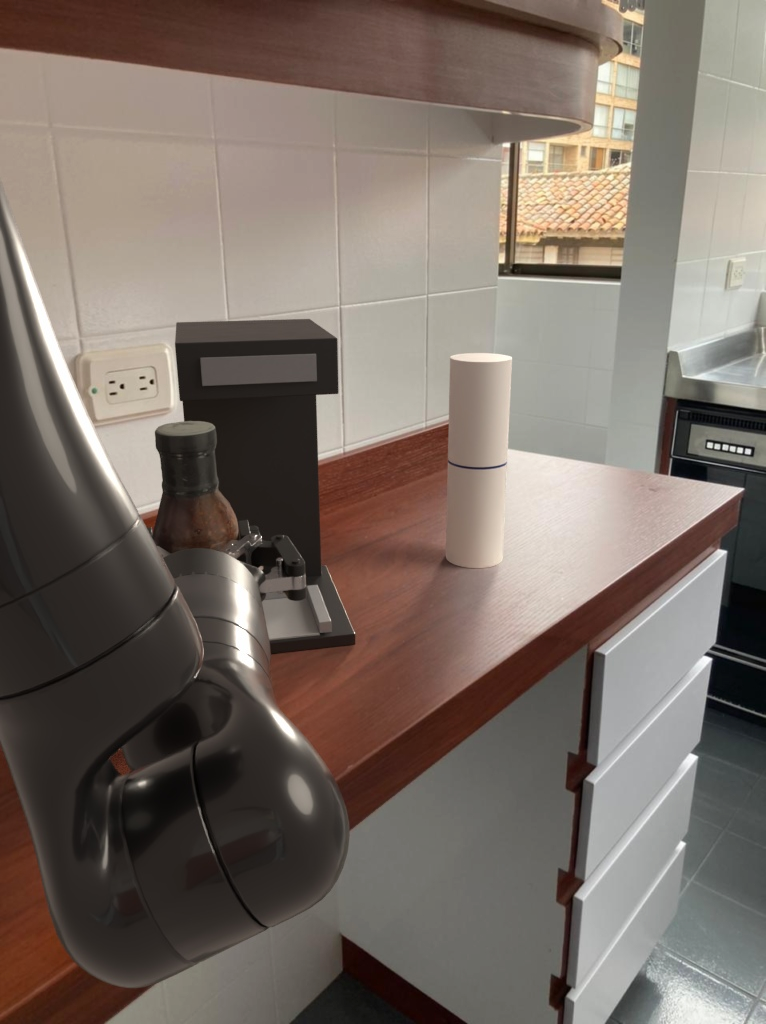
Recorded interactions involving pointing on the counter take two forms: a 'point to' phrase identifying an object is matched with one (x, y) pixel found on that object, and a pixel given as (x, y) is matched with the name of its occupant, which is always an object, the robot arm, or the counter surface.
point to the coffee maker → (270, 449)
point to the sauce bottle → (191, 490)
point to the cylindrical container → (477, 458)
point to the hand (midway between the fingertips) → (196, 536)
